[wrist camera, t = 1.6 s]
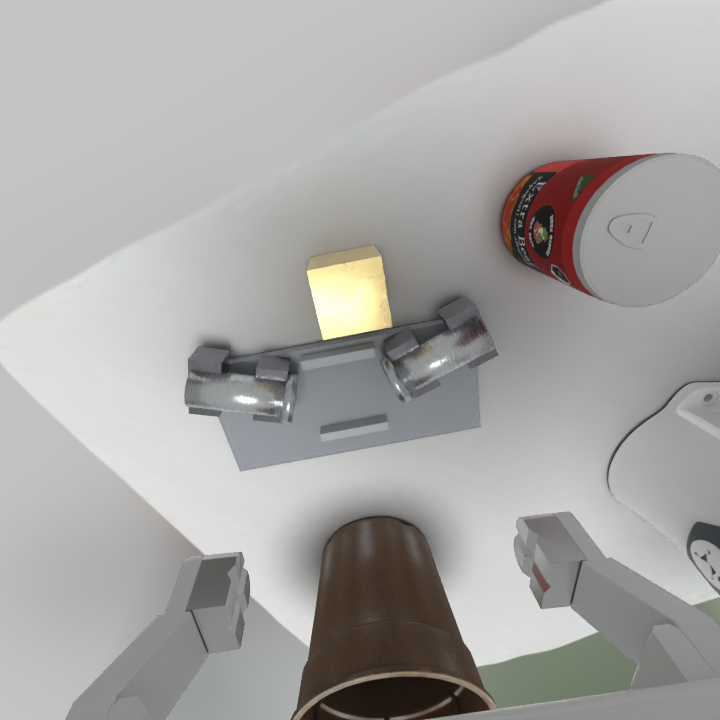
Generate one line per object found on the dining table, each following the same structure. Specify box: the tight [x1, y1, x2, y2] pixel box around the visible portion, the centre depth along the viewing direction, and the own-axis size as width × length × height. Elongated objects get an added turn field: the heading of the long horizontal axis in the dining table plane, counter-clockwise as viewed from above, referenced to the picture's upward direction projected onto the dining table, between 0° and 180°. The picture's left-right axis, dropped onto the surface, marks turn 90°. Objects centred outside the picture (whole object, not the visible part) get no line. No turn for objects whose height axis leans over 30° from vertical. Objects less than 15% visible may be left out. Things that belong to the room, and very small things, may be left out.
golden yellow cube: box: [307, 245, 392, 340], centre depth 29 cm, size 5×5×5 cm
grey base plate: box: [219, 319, 480, 471], centre depth 34 cm, size 23×11×2 cm, turn 100°
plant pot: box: [291, 517, 497, 720], centre depth 37 cm, size 16×16×16 cm
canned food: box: [502, 153, 720, 307], centre depth 25 cm, size 8×8×11 cm
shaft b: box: [185, 346, 299, 425], centre depth 31 cm, size 8×5×4 cm, turn 80°
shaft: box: [380, 295, 498, 404], centre depth 31 cm, size 8×5×4 cm, turn 120°
